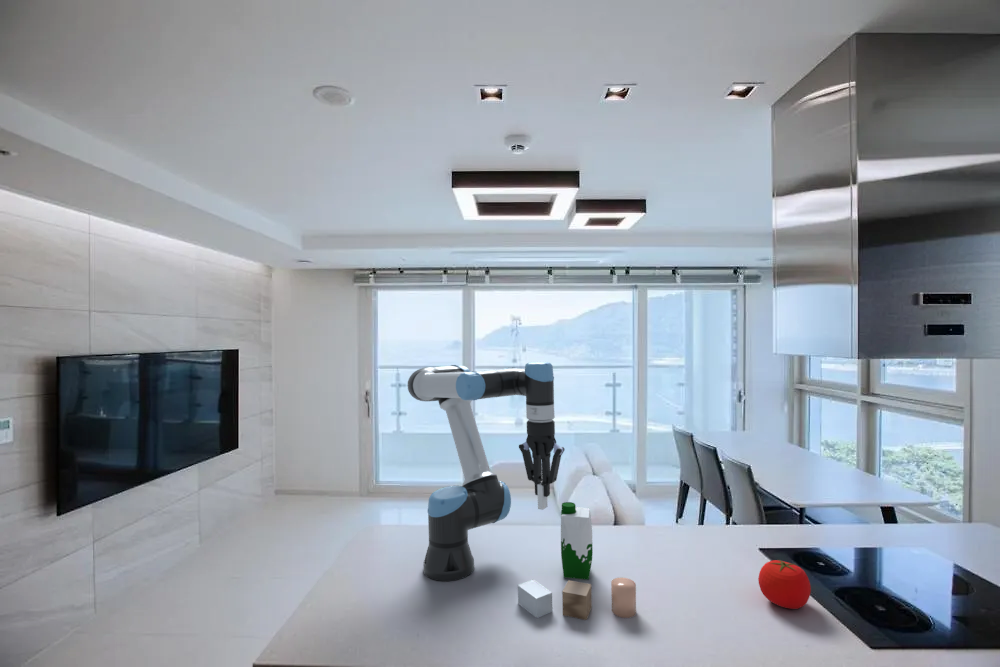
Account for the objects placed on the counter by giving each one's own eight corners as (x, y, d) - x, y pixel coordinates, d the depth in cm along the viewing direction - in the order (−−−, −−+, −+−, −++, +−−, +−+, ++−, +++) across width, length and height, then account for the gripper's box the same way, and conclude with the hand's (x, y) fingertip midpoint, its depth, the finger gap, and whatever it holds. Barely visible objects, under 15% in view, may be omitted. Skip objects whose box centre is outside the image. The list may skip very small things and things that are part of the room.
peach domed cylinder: (608, 613, 125) (607, 585, 125) (616, 602, 130) (616, 575, 130) (631, 620, 122) (631, 592, 121) (639, 608, 127) (638, 581, 126)
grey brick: (518, 604, 130) (517, 585, 130) (533, 598, 133) (533, 579, 133) (536, 618, 123) (536, 598, 123) (552, 612, 126) (552, 592, 126)
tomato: (815, 602, 128) (815, 561, 128) (802, 622, 119) (802, 579, 119) (767, 586, 136) (767, 548, 136) (752, 605, 127) (752, 564, 127)
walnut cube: (562, 615, 124) (562, 591, 124) (568, 603, 130) (568, 580, 130) (586, 620, 122) (586, 596, 122) (591, 607, 128) (591, 584, 128)
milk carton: (562, 564, 151) (561, 498, 150) (593, 567, 149) (592, 500, 149) (560, 579, 142) (559, 509, 142) (592, 581, 140) (591, 511, 140)
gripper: (512, 420, 134) (514, 508, 134) (556, 424, 127) (558, 516, 127) (526, 416, 140) (528, 499, 140) (568, 419, 133) (570, 507, 133)
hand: (542, 507), depth 134 cm, fingers closed
